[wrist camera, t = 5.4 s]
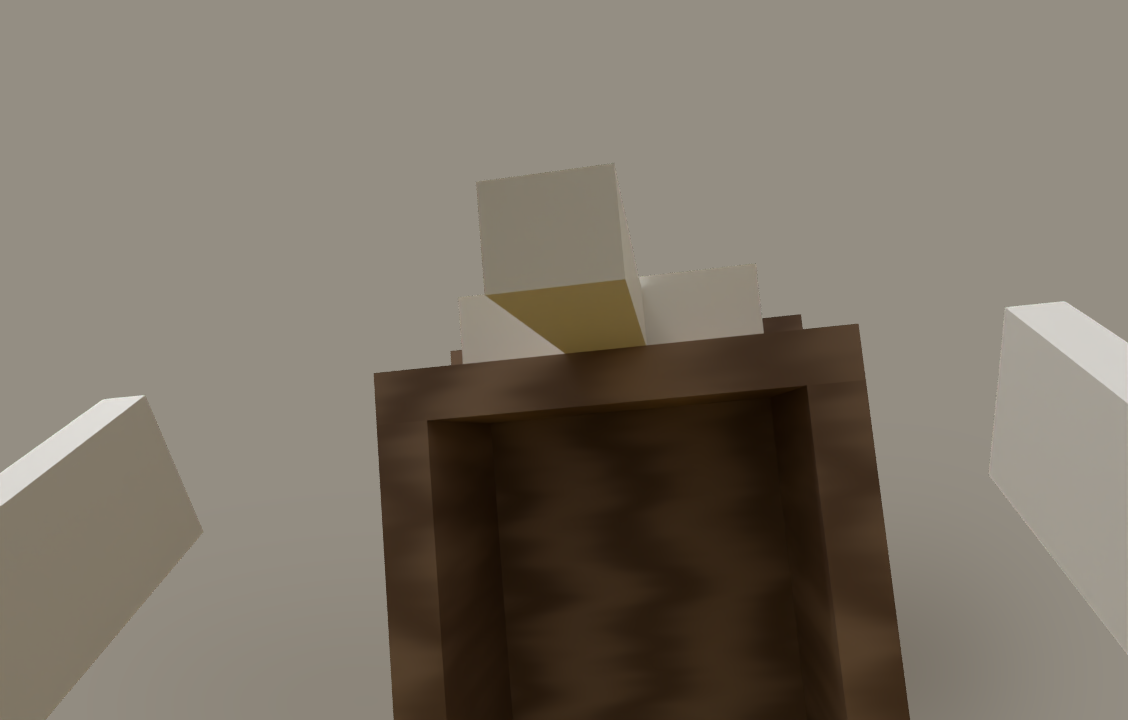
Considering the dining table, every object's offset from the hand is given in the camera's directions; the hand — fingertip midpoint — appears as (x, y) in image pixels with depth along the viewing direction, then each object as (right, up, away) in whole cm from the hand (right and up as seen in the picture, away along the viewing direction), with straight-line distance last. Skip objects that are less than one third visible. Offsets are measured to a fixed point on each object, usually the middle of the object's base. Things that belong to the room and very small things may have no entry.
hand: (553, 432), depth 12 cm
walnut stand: (+5, -29, +19) cm, 35 cm away
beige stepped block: (+2, +2, +15) cm, 15 cm away
